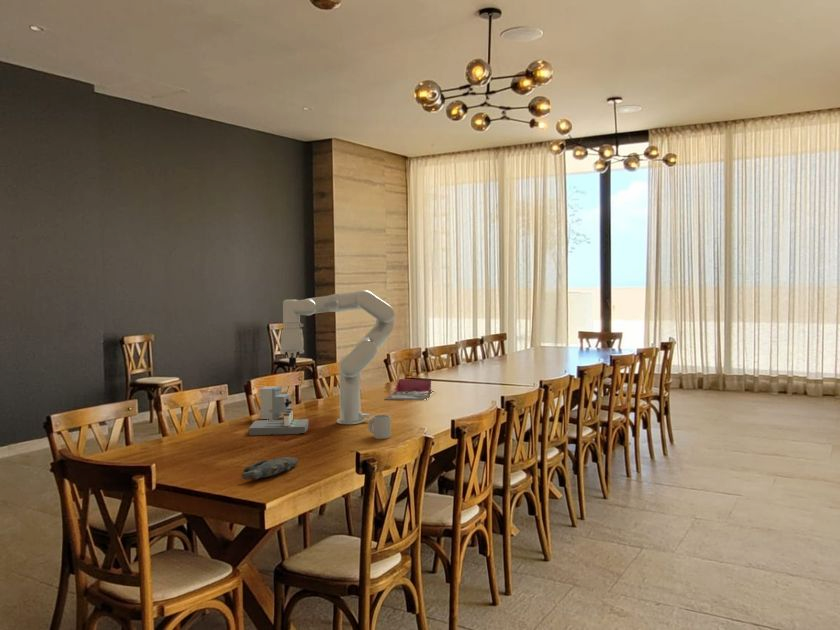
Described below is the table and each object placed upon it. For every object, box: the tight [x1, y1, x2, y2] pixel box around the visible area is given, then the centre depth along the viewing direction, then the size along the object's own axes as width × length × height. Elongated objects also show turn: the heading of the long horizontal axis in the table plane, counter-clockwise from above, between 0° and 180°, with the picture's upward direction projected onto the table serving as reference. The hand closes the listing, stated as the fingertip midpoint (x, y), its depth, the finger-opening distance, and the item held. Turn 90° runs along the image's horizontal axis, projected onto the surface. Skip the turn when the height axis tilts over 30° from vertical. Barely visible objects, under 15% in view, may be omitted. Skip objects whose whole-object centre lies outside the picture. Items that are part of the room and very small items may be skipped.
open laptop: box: [384, 379, 434, 401], centre depth 401 cm, size 24×35×8 cm
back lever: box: [287, 407, 294, 420], centre depth 317 cm, size 2×3×5 cm
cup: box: [368, 414, 392, 440], centre depth 294 cm, size 7×10×9 cm
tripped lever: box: [283, 412, 290, 426], centre depth 305 cm, size 2×3×5 cm
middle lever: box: [284, 410, 291, 423], centre depth 311 cm, size 2×3×5 cm
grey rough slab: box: [241, 456, 299, 480], centre depth 241 cm, size 5×25×15 cm
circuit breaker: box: [258, 385, 292, 420], centre depth 338 cm, size 8×14×15 cm, turn 78°
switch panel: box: [248, 418, 309, 436], centre depth 311 cm, size 24×17×3 cm
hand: (292, 366), depth 322 cm, fingers closed
